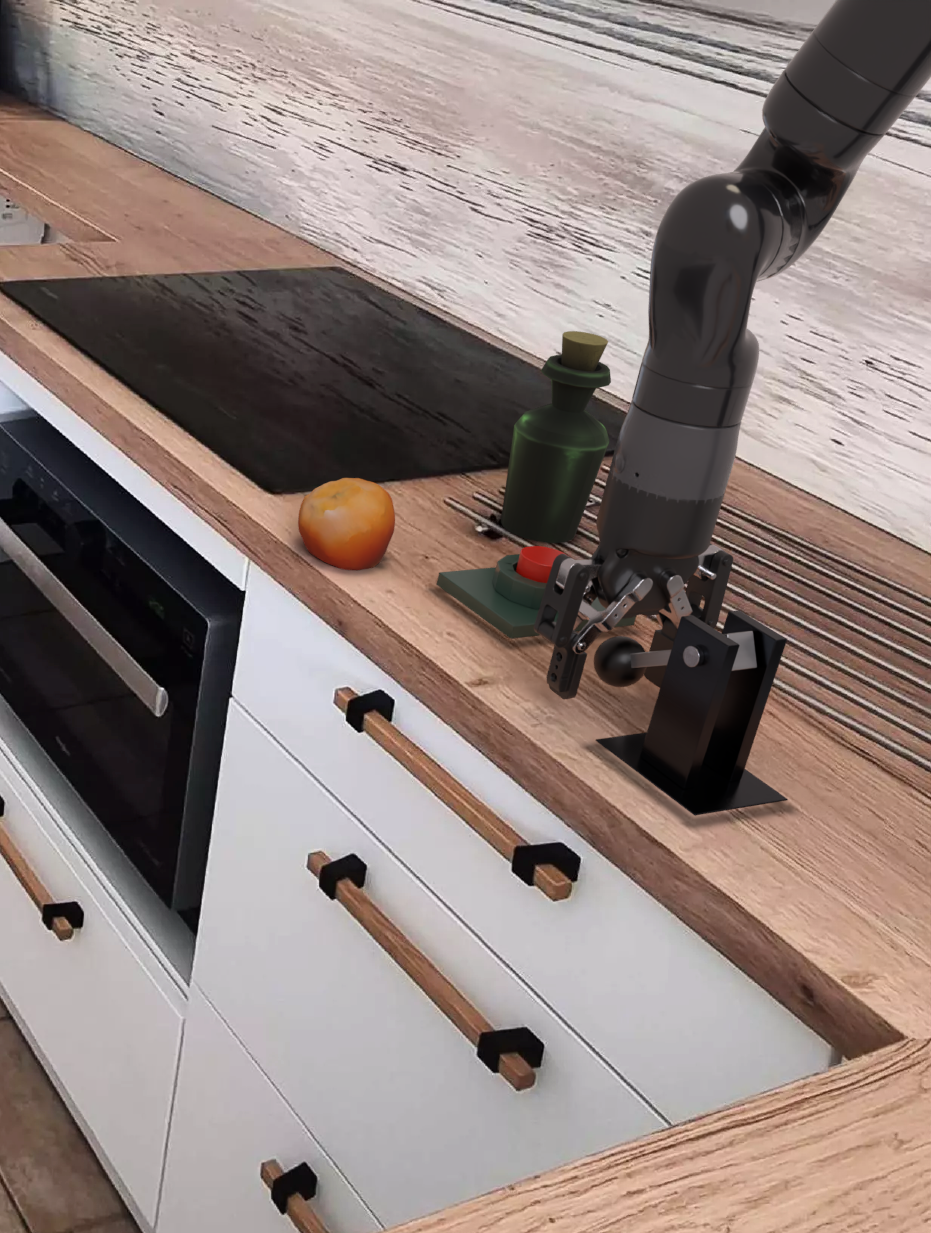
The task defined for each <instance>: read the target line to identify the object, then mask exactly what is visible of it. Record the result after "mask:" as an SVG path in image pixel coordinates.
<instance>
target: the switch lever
mask: <svg viewBox="0 0 931 1233" xmlns="http://www.w3.org/2000/svg"><path fill="white" fill-rule="evenodd" d="M723 635H725V636H727V637H728V638H730V639H731V640H733V641H734V642H736V643H738V644H739V645H740V646H739V649H738V652H737V655H736V659H735V662H734V665H733V668H732V671H735V670H743V669H751V668H756V667H757V662H756V654H755V645H754V636H753V631H747V632H737V633H727V634H723ZM670 653H671V650H662V651H651V652H649V651H646V650H645V648H644V647H643V645H641V643H640V642H638V641H637V640H636V639H634V638H632V637H629V636H625V635H617V636H612V637H609V638H607V639H606V640H604V641H603V642H601V643H600V645H599V646H598V647H597V648H596V650H595V653H594V656H593V668H594V671H595V673H596V675H597V676H598V678H599V679H600V680H601V681H602V682H603V683H605V684H607V685H608V686H611V687H616V688H627V687H630V686H632V685H634V684H637V683H638V682H639V681H640V680H641V679H642V678H643V677H644V673H645V671H646V668H647V667H651V666H663V665H667V663H668V660H669V656H670Z"/></svg>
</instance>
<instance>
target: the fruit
mask: <svg viewBox="0 0 931 1233" xmlns="http://www.w3.org/2000/svg"><path fill="white" fill-rule="evenodd" d="M297 518H298V520H297V527H298V528H297V529H298V532H299V534H300V537H301V539H302V542H303V544H304V547H305V548H306V550H307V551H308V553H309V554H311V555H312V556H314V557H315V558H317V560H320V561H321V562H324V563H325V564H327V565H330V566H332V567H334V568H337V569H340V570H345V571H363V570H369V569H373V568H375V567H376V566H377V565H379V564H380V563H381V562H383V559H384V557H385V555H386V552H387V550H388V547H389V546H390V543H391V540H392V537H393V535H394V532H395V528H396V513H395V507H394V502H393V499H392V497H391V495H390V493H389V492H388V491H387V490H385V488H383V487H382V486H381V485H380V484H377V483H376V482H373V481H370V480H366V479H363V478H361V477H360V478H359V477H355V478H354V477H342V478H340V479H337V480H331V481H328V482H326V483H323V484H321V485H320V486H318V487H315V488H314V489H313V490H311V491H310V492H309V493H308V494H306V495H305V496H304V497H303V499H302V502H301V504H300V507H299V512H298V517H297Z"/></svg>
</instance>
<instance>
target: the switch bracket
mask: <svg viewBox="0 0 931 1233" xmlns="http://www.w3.org/2000/svg"><path fill="white" fill-rule="evenodd" d="M747 631H753V636H754V645H755V654H756V662H757V667H756V668H751V669H743V670H735V671H732V668H733V665H734V662H735V659H736V655H737V652H738V649H739V646H740V645H739V644H738V643H736V642H734V641H733V640H731V639H730V638H728V637H727V636H725V635H723V634H727V633H737V632H747ZM787 641H788V639H787V638H786V637H784V636H783V635H782V634H780V633H778V632H776V631H775V630H773V629H771V628H770V627H768V626H767V625H765V624H764V623H761V622H760V621H758V620H756V619H755V618H754V617H751V616H750V615H748V614H746V613H745V612H744V611H742V610H740V609H739V610H730V611H728V612H727V615H726V618H725V621H724V625H723V628H722V631H718V630H717V629H715V628H712V627H711V626H709V625H707V624H706V623H704V622H703V621H701V620H699V619H698V618H696V617H695V616H693V615H691V616H682V617H681V619H680V623H679V626H678V629H677V633H676V636H675V640H674V643H673V646H672V650H671V653H670V656H669V660H668V663H667V666H666V670H665V673H664V677H663V680H662V683H661V687H659V691H658V694H657V697H656V701H655V704H654V707H653V710H652V713H651V717H650V721H649V724H648V727H647V731H645V732H639V733H638V732H637V733H631V734H624V735H618V736H617V735H616V736H611V737H604V738H603V737H602V738H596V739H595V742H597V743H598V744H599V745H600V746H602V747H604V749H606V750H607V751H609V752H610V753H611V754H613V755H614V756H615V757H616V758H618V759H619V760H620V761H621V762H623V763H624V764H626V765H627V766H628V767H630V768H631V769H632V770H634V771H635V772H636V773H638V774H639V775H640V776H641V777H643V778H644V779H645V780H647V781H648V782H650V784H652V785H653V786H655V787H656V788H657V789H659V790H660V791H661V792H663V793H664V794H665V795H666V796H668V797H669V798H671V800H673V801H674V802H676V803H677V804H679V805H680V806H681V807H682V808H684V809H685V810H686V811H688V812H689V813H690V814H691V815H693V816H702V815H707V814H714V813H719V812H725V811H732V810H737V809H743V808H750V807H755V806H762V805H768V804H773V803H780V802H786V801H788V800H789V799H788V798H787V797H786V796H784V795H783V794H781V793H780V792H779V791H777V790H776V789H775V788H773V787H771V786H770V785H768V784H767V783H766V782H765V781H763V780H761V779H760V778H759V777H758V776H756V775H755V774H753V773H752V772H750V771H749V770H748V769H746V766H747V763H748V760H749V756H750V753H751V751H752V747H753V744H754V741H755V738H756V735H757V732H758V730H759V726H760V724H761V722H762V717H763V715H764V711H765V709H766V705H767V702H768V699H769V697H770V693H771V690H772V688H773V687H772V686H773V684H774V681H775V679H776V678H775V677H776V675H777V673H778V669H779V666H780V663H781V659H782V657H783V653H784V650H785V648H786V645H787Z"/></svg>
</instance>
